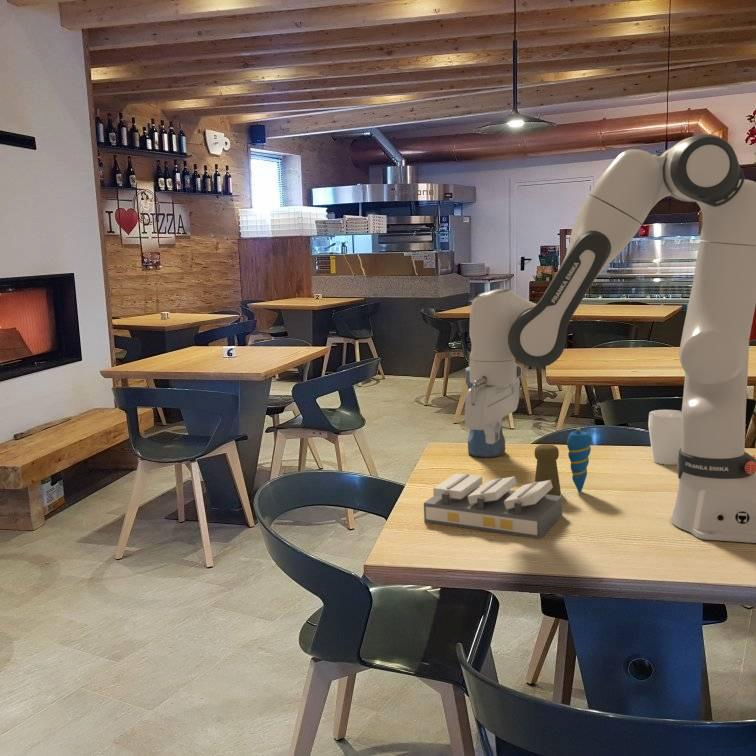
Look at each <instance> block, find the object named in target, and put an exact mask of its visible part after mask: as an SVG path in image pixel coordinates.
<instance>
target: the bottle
mask: <svg viewBox="0 0 756 756" xmlns="http://www.w3.org/2000/svg"><path fill="white" fill-rule="evenodd" d="M470 348H472V346H471V347H470ZM464 370H465V371H464V373H465V383H466V386H467V388H468V390H469V389H471V388H472V386H473V383H471V382H470V366H467V367H466V368H465V369H464ZM467 452H468V454H469V455H470V456H473V457H475V458H482V459H483V458H496V457H500V456H503V455H504V454H505V453H506V438H505V436H504V433H503V424H502V425H501V429H500V432H499V440H498V441H497V442H495V443H494V444H487V443H486V435H485V432H484V430H473V429H469V434H468V437H467Z"/></svg>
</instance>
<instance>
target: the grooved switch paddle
mask: <svg viewBox="0 0 756 756" xmlns="http://www.w3.org/2000/svg"><path fill="white" fill-rule="evenodd" d="M482 485H483V476H482V475H475V474H474V475H473V474H469V473H466V474H464V473H453V474H452V475H451V476H450V477H448V478H446V479H445V480H444V481H442V482H440V483H439V484H437V485H435V487H433V488H432V490H433V491H432V492H433V496H440V497H442V493H447V494H449V498H455V499H462V498H463V497H465V496H466V495H468V494H469V493H470V492H472V491H473V490H474V489H476V488H477V487H478V486H480V487H481V486H482Z"/></svg>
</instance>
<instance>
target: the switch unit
mask: <svg viewBox="0 0 756 756" xmlns="http://www.w3.org/2000/svg"><path fill="white" fill-rule="evenodd" d="M479 487H481V485H480V486H478V487H477V488H476V489H474V490H473V491H472V492H474V491H475V490H477V489H478V488H479ZM515 491H516V490H513V489H510V490H509V491H508V492H506V493H505V494H504V495H503V496H502V497H500V498H499V499H498V500H493V501H486V502H484V498H479V497H478V498H477V503H473V504H470V503H469V500H468V495H470V494H471V493H472V492H470V493H469V494H468V495H466V496H465V497H463V498H462V499H455V498H449V494H447V493H442V497H440V496H434V495H433V496H431V497H430V498H428V499H427V500H426V501H424V502H423V517H424V518H423V519H424V523H430V524H437V525H442V526H443V525H444V526H448V527H449V526H450V527H457V528H463V529H470V530H477V531H485V532H490V533H498V534H499V533H500V534H503V535H511V536H517V537H526V538H532V539H538V540H541V538H542V537H543V536H544V535H546V533H547V532H548V531H549V530H550V529H551V528H552V527H553V526H554V525H555V523H557V521H559V519H561V518H562V516H563V495H561V496H556V495H548V494H545V495H544V496H543V497H542V498H541V499H540V500H539V501H538V502H537V503H536V504H533V505H527V506H521V503H519V502H515V503H514V508H510V509H506V507H505V504H504V501H505V500H506V499H507V498H508V497H509V496H511V495H512V494H513V493H514V492H515Z"/></svg>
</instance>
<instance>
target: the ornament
mask: <svg viewBox="0 0 756 756" xmlns="http://www.w3.org/2000/svg"><path fill="white" fill-rule="evenodd" d="M581 430H582V429H581V428H580V427H579V425H577V427H576V428H575V431H571V432H570V433H569V434H568V437H567V440H566V445H567V448H568V459H569V461H570V471H571V473H572V475H571V476H572V477H571V479H572V482H573V483H574V486H575V487H576V490H577V492H578V493H579V492H580V493H581V492H583V487H584V484H585V482H586V479H587V475H588V465H589V463H590V459H589V456H590V454H591V452H592V451H591V450H592V447H591V443H592V436H591V434H590V433H589V432H586V431H581Z"/></svg>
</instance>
